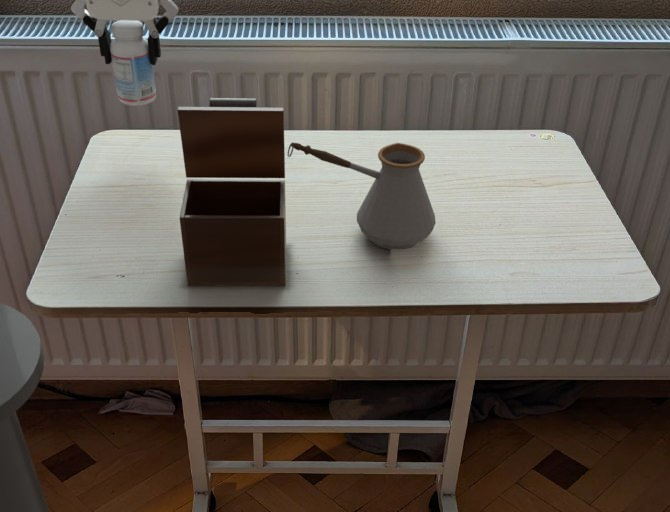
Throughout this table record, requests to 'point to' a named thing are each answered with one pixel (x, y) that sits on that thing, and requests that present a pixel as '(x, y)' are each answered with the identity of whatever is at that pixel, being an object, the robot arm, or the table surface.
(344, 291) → the table surface
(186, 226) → the chest
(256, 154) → the lid
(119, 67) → the pill bottle
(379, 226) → the coffee pot
